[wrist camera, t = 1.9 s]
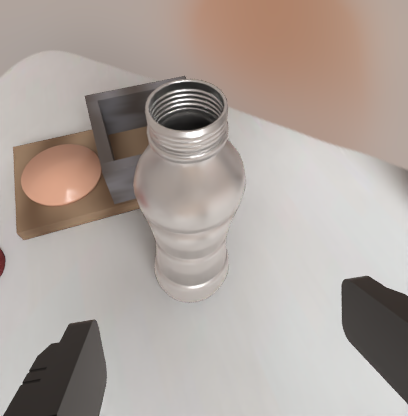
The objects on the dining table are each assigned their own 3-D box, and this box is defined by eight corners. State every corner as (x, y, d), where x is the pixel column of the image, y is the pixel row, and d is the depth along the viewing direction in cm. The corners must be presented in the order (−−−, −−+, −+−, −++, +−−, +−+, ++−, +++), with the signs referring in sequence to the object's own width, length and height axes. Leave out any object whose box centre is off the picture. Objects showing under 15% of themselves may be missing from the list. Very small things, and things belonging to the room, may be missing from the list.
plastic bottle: (143, 272, 31) (79, 101, 14) (196, 231, 33) (195, 44, 17) (187, 324, 28) (172, 190, 12) (241, 275, 31) (292, 107, 14)
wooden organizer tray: (185, 118, 43) (184, 74, 37) (217, 186, 37) (221, 146, 31) (19, 155, 39) (-11, 113, 33) (23, 240, 32) (-12, 204, 27)
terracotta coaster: (95, 139, 38) (94, 137, 38) (108, 194, 34) (107, 191, 34) (21, 156, 37) (19, 154, 36) (24, 215, 32) (22, 213, 32)
